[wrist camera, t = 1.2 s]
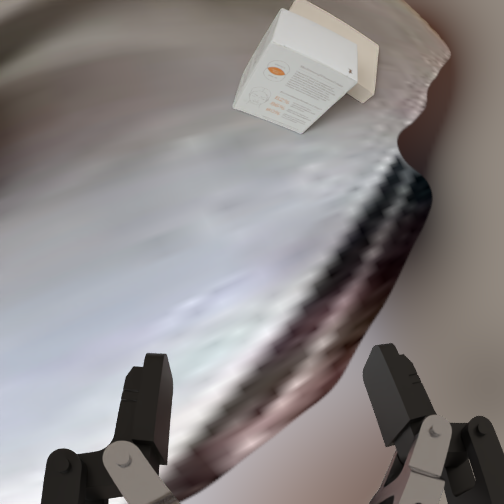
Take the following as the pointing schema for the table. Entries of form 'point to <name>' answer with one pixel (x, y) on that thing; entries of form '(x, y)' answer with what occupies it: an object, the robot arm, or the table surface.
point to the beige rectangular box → (364, 45)
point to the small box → (297, 73)
